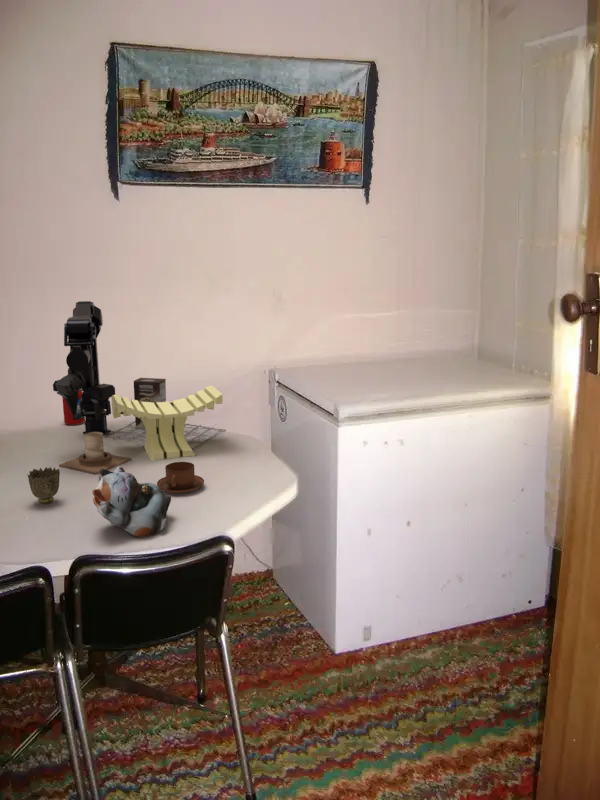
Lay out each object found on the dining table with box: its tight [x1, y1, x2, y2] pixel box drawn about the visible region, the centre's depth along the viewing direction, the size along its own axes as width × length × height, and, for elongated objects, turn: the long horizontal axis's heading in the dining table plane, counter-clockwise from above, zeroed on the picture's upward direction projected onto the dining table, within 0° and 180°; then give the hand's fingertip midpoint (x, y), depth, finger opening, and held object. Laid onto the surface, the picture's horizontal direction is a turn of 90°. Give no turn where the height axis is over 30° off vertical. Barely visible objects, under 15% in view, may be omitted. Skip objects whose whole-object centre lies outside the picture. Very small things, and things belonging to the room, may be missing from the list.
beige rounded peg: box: [83, 432, 105, 460], centre depth 211 cm, size 5×5×8 cm
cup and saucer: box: [156, 461, 205, 494], centre depth 192 cm, size 12×12×6 cm
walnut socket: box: [58, 451, 132, 476], centre depth 212 cm, size 14×14×2 cm
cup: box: [27, 466, 61, 505], centre depth 183 cm, size 8×7×8 cm
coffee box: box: [133, 377, 167, 430], centre depth 248 cm, size 9×6×16 cm
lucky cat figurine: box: [92, 465, 172, 538], centre depth 167 cm, size 17×14×16 cm
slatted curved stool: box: [111, 385, 224, 461], centre depth 222 cm, size 30×16×18 cm, turn 110°
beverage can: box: [61, 391, 85, 426], centre depth 252 cm, size 7×7×12 cm
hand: (85, 417), depth 213 cm, fingers open, 9 cm apart
